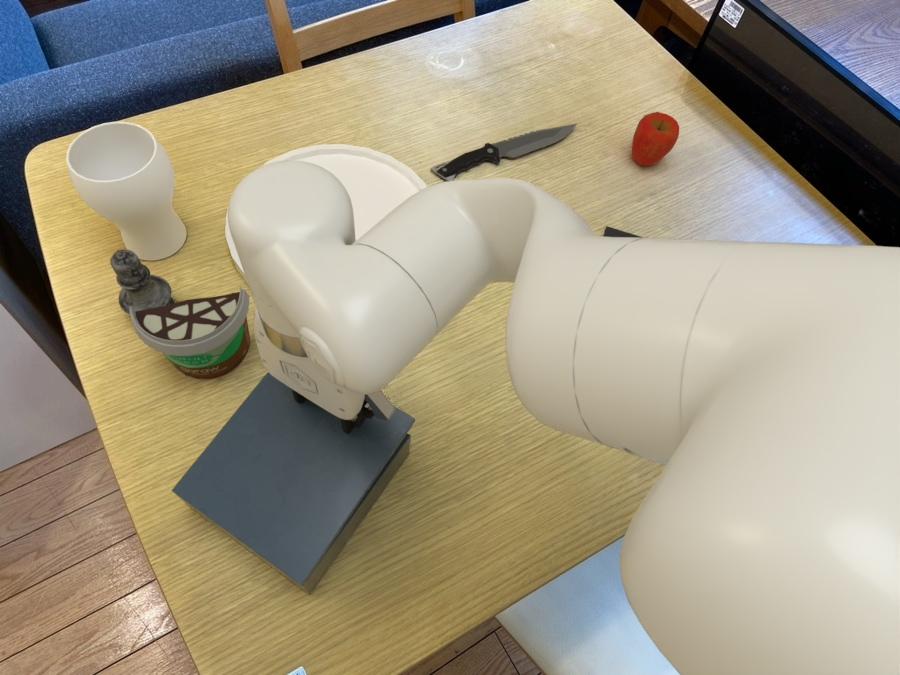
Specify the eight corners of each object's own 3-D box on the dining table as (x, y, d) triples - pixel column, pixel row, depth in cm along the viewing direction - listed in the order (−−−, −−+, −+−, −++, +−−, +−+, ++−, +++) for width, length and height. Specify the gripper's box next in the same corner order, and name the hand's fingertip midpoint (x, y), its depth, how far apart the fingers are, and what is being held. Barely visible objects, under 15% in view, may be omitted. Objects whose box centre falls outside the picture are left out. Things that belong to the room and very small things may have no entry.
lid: (293, 344, 67) (283, 326, 62) (415, 421, 63) (413, 407, 59) (174, 491, 60) (154, 482, 56) (303, 585, 57) (292, 582, 53)
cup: (173, 195, 86) (134, 105, 73) (213, 244, 82) (180, 158, 69) (98, 230, 82) (43, 142, 69) (136, 284, 78) (86, 201, 65)
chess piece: (143, 340, 75) (103, 282, 64) (120, 307, 77) (78, 245, 66) (188, 315, 77) (157, 255, 66) (165, 283, 79) (131, 220, 68)
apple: (655, 180, 95) (674, 142, 88) (618, 163, 96) (634, 124, 90) (670, 156, 98) (689, 118, 91) (634, 140, 99) (651, 100, 93)
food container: (158, 399, 71) (126, 357, 62) (155, 353, 74) (124, 307, 65) (269, 375, 74) (252, 332, 65) (261, 332, 76) (245, 284, 68)
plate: (437, 321, 79) (439, 311, 77) (211, 313, 77) (205, 302, 75) (438, 161, 93) (439, 149, 91) (246, 151, 91) (243, 138, 89)
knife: (588, 140, 98) (571, 119, 100) (590, 135, 97) (573, 114, 99) (440, 187, 91) (425, 164, 93) (441, 183, 90) (425, 159, 92)
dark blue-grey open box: (299, 383, 73) (292, 359, 68) (409, 454, 70) (411, 435, 65) (190, 508, 65) (174, 492, 60) (310, 595, 62) (302, 586, 57)
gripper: (189, 289, 47) (239, 392, 63) (375, 403, 44) (380, 482, 59) (255, 226, 51) (287, 338, 66) (432, 327, 47) (422, 421, 63)
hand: (331, 405), depth 63 cm, fingers closed on lid, 5 cm apart
